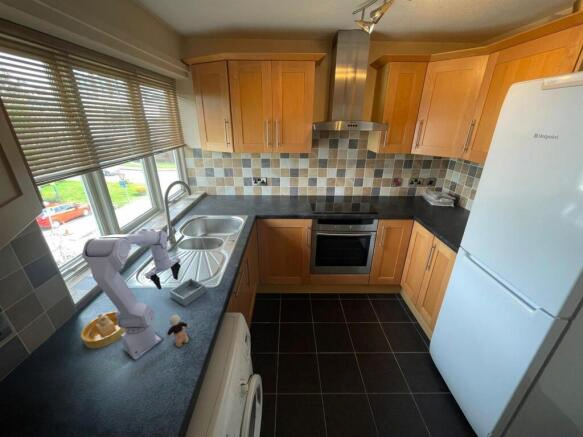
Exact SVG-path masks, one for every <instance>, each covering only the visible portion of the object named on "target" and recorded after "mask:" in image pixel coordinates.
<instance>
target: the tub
mask: <svg viewBox="0 0 583 437" xmlns="http://www.w3.org/2000/svg"><path fill="white" fill-rule="evenodd" d="M206 292H207V290H206V285H205V284H203V283H201V282H199V281H198V280H196V279H194V278H191V277H189V279H187V280H185V281H184V282H182V283H180V284H179V285H177V286H175V287H173V288H172V289H170V290H169V294H170V298H171V299H172V300H174V301H176V302H177V303H178V304H181V305H182V306H184V307H186V306H188V305H190V304H191V303H192V302H193V301H195V300H197V299H198V298H200V296H202V295H203V294H205V293H206Z"/></svg>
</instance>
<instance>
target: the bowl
mask: <svg viewBox="0 0 583 437" xmlns="http://www.w3.org/2000/svg"><path fill="white" fill-rule="evenodd" d="M117 311H118V310H116V311H115V310H114V311H109V312H106V313H103V314H101V315H102V316H104V315H105V316H108V318H109V319H110V320H111V321H112V322H113V323H114V325H115V328H116V330H117V331H115V332H114V333H112V334H110V335H108V336H106V337H103V336H102V335H101V334H100V333H99V331H98V329H97V327H96V325H95V324H97V320H98V318H99V317H98V316H97V317H95V318H93V319H92V320H91V321H89V322H88V323H87V324H86V325H85V326H84V327H83V328H82V330H81V332H80V338H81V341H82V342H83V345H85V347H87V348H89V349H100V348H105V347H107V346H109V345H111V344H114V343H115V342H117V341H118V340H120V336H121V335H122V334H123V333H124V332H125V331H126V330H125V329H124V328H120V327H119V326H118V323H117V319H116V318H115V315H116V313H117Z"/></svg>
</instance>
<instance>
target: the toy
mask: <svg viewBox="0 0 583 437" xmlns="http://www.w3.org/2000/svg"><path fill="white" fill-rule="evenodd" d="M102 315H103V314H98V316H97V317H99V318H98V320H97V324H95V325H96V327H97V329H98V331H99V333H100V334H101V335H102V336H103V337H106V336H108V335H110V334H112V333H114V332H115V331H117V330H116V328H115V325H114V323H113V322H112V321H111V320H110V319H109V318H108V316H105V315H104V316H102Z"/></svg>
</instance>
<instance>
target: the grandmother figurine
mask: <svg viewBox="0 0 583 437" xmlns="http://www.w3.org/2000/svg"><path fill="white" fill-rule="evenodd" d="M169 324H170V326H171V327H170V328H168V331H167V332H166V333H167V334H166V339H170V337H171V335H172V334H173V337H174V341H175V346H176V347H177V348H180V347H182V346H183V344H187V343H188V342H189V336H187V333H186V331H185V328H186V329H187V330H189V329H190V325H189V324H188V323H186V322H183V321H181V317H180V315H178V314H175V315H172V316H171V317H170V319H169Z"/></svg>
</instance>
